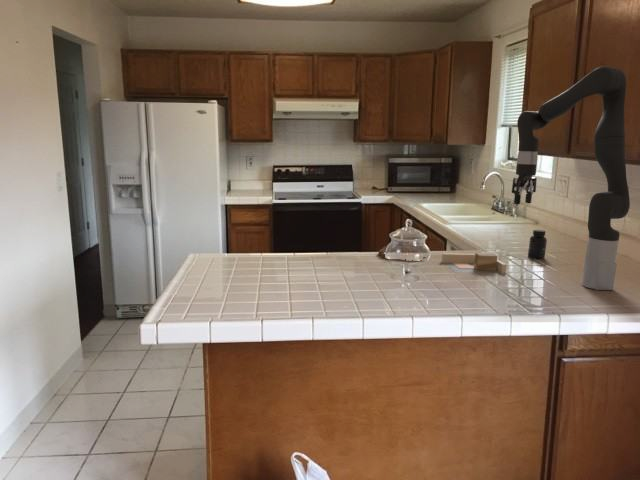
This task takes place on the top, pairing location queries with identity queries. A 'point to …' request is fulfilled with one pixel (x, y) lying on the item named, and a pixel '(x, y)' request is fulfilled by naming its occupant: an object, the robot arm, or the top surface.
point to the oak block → (485, 262)
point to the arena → (468, 263)
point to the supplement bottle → (537, 245)
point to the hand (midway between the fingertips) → (522, 203)
